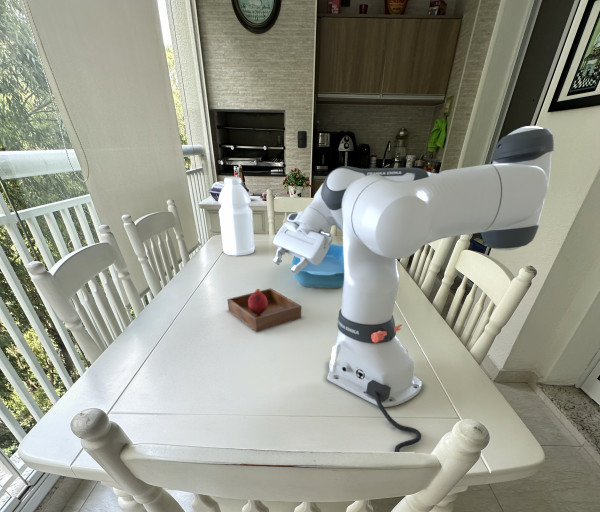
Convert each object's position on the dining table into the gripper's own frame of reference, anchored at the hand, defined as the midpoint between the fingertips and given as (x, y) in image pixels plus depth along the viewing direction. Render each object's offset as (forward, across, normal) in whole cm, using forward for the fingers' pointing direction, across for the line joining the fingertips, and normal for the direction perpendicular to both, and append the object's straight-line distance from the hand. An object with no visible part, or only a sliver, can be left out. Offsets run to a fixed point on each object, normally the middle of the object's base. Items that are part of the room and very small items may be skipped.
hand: (284, 267), depth 103 cm
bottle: (-3, +61, -21) cm, 65 cm away
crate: (+14, 0, -4) cm, 15 cm away
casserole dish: (-12, +17, -30) cm, 36 cm away
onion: (+16, 0, -2) cm, 16 cm away
